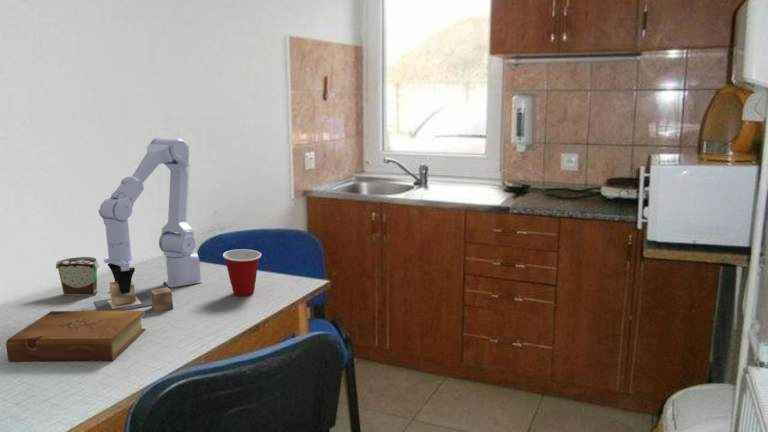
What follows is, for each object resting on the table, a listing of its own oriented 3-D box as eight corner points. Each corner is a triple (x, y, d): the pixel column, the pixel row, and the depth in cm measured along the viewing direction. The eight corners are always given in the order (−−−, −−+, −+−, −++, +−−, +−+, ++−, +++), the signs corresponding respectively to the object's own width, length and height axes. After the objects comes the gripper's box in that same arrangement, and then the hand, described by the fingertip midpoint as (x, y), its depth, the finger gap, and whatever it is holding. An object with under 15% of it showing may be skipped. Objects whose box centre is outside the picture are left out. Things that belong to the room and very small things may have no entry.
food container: (110, 289, 191) (106, 256, 189) (99, 295, 185) (95, 262, 183) (71, 288, 192) (67, 256, 190) (58, 294, 186) (55, 261, 184)
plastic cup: (250, 301, 178) (247, 259, 175) (217, 296, 182) (214, 256, 179) (270, 289, 188) (268, 250, 185) (239, 286, 192) (237, 247, 189)
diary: (8, 365, 140) (5, 340, 138) (53, 333, 158) (51, 311, 157) (112, 363, 139) (110, 338, 138) (146, 332, 157) (143, 309, 156)
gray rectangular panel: (146, 293, 186) (146, 292, 186) (155, 304, 176) (155, 303, 176) (94, 302, 179) (94, 300, 179) (100, 314, 169) (100, 313, 169)
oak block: (131, 296, 181) (130, 279, 180) (135, 301, 176) (134, 284, 175) (111, 299, 178) (109, 282, 177) (114, 305, 173) (112, 287, 172)
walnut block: (169, 304, 176) (167, 287, 175) (173, 309, 172) (171, 291, 171) (152, 307, 174) (150, 290, 173) (155, 312, 170) (154, 294, 169)
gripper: (98, 239, 178) (103, 286, 181) (107, 249, 166) (112, 299, 168) (125, 235, 181) (130, 281, 184) (135, 246, 169) (140, 295, 172)
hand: (123, 290), depth 176 cm, fingers closed on oak block, 5 cm apart
